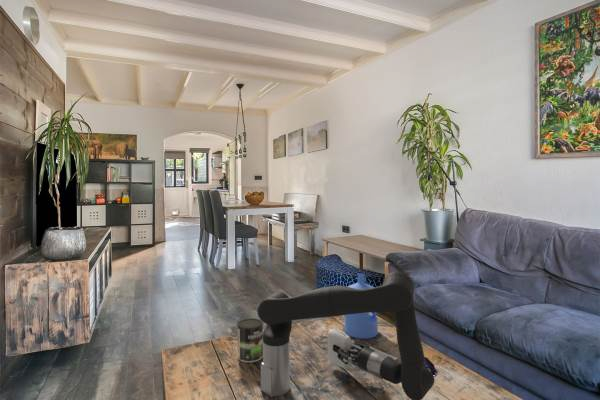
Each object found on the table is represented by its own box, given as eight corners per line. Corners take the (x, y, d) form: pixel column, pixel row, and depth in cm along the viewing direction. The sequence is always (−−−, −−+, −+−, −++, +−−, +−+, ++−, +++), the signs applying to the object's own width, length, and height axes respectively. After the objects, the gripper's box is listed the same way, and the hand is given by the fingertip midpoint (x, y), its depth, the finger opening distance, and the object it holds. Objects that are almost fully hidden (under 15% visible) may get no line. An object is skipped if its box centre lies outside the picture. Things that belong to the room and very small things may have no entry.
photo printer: (325, 359, 138) (325, 328, 137) (333, 356, 140) (333, 325, 140) (345, 370, 130) (345, 337, 129) (353, 366, 132) (353, 334, 132)
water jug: (346, 339, 161) (346, 278, 160) (343, 325, 177) (343, 270, 175) (380, 340, 161) (381, 279, 159) (374, 325, 176) (375, 270, 175)
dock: (384, 378, 130) (384, 369, 129) (348, 361, 142) (348, 352, 142) (402, 367, 138) (402, 358, 137) (366, 351, 150) (367, 343, 150)
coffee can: (267, 357, 145) (267, 323, 145) (246, 365, 139) (245, 330, 138) (254, 348, 153) (254, 316, 153) (233, 355, 147) (232, 322, 146)
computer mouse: (417, 379, 130) (417, 368, 130) (402, 358, 145) (402, 349, 144) (441, 378, 130) (442, 367, 130) (424, 357, 145) (425, 348, 145)
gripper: (386, 345, 127) (349, 330, 140) (361, 358, 117) (324, 341, 130) (386, 365, 127) (349, 349, 140) (361, 380, 118) (324, 361, 131)
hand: (337, 345), depth 135 cm, fingers closed on photo printer, 4 cm apart
